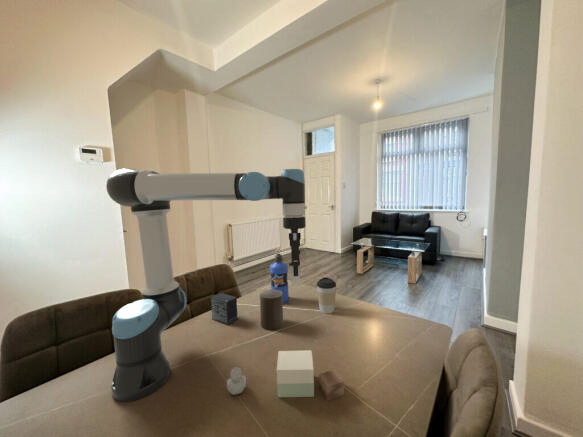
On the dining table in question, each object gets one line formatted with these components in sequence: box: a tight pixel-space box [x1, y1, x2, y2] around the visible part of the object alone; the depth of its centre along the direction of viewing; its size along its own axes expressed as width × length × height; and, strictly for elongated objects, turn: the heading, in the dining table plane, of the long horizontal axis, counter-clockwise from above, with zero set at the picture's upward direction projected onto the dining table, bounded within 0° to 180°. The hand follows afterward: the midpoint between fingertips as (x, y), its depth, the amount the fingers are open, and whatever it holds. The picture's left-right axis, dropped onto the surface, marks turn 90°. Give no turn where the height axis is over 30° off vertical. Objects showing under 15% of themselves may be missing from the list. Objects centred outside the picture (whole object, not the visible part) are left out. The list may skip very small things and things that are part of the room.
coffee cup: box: [316, 276, 337, 314], centre depth 114 cm, size 9×9×15 cm
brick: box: [318, 369, 345, 401], centre depth 67 cm, size 5×5×4 cm
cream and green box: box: [276, 349, 315, 398], centre depth 69 cm, size 10×8×8 cm
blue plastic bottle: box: [269, 253, 290, 305], centre depth 125 cm, size 9×9×25 cm
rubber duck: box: [226, 366, 247, 396], centre depth 69 cm, size 5×7×8 cm
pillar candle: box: [259, 289, 284, 331], centre depth 103 cm, size 10×10×15 cm
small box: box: [210, 293, 239, 326], centre depth 109 cm, size 11×6×10 cm, turn 58°
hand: (295, 278), depth 82 cm, fingers open, 13 cm apart
